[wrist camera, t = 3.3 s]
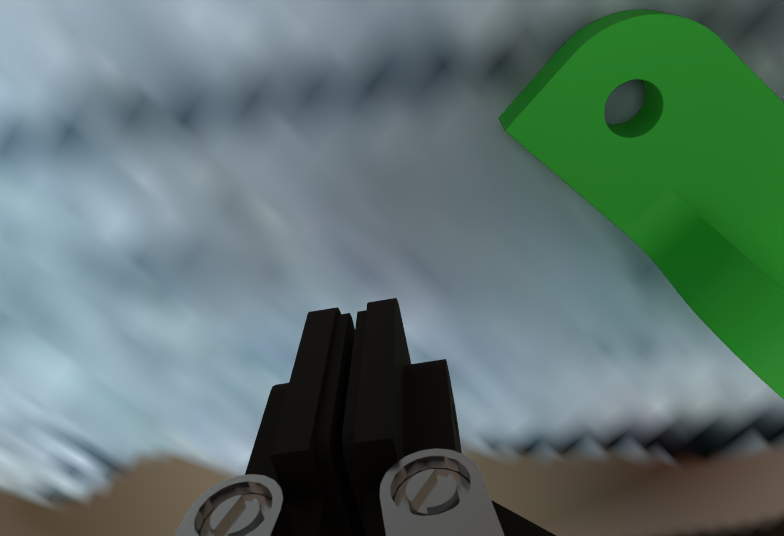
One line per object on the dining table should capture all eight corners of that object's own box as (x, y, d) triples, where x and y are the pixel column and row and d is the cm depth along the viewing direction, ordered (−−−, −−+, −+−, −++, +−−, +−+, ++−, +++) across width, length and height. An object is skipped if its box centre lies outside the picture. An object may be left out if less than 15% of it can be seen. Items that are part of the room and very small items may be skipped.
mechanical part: (861, 199, 23) (1061, 308, 16) (725, 312, 25) (848, 453, 18) (629, -34, 20) (747, -28, 13) (497, 116, 22) (537, 192, 15)
